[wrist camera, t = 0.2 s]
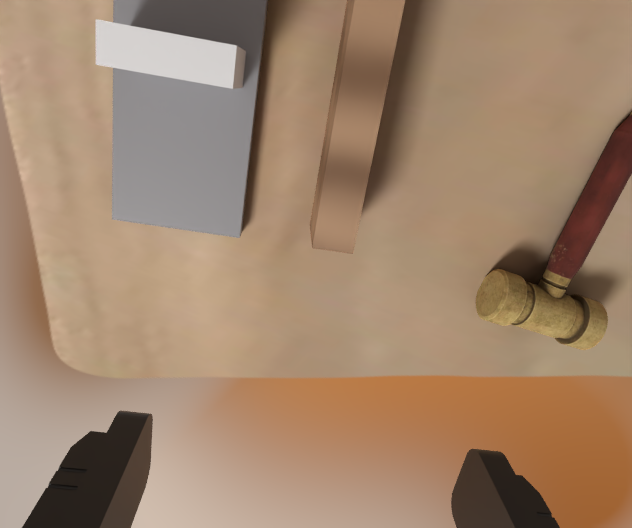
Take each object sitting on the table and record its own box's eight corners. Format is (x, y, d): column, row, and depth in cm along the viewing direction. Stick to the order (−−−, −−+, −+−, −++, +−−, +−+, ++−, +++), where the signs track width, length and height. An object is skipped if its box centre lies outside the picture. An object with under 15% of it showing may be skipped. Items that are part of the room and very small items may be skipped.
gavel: (618, 69, 32) (732, 118, 34) (578, 75, 36) (680, 118, 38) (489, 328, 38) (591, 359, 39) (468, 306, 42) (561, 335, 44)
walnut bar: (367, -124, 30) (384, -172, 24) (411, -114, 30) (438, -159, 25) (309, 224, 38) (312, 248, 33) (344, 229, 39) (352, 253, 33)
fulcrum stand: (123, -173, 28) (72, -248, 22) (283, -136, 29) (280, -198, 23) (119, 214, 37) (81, 242, 31) (241, 232, 38) (230, 262, 32)
